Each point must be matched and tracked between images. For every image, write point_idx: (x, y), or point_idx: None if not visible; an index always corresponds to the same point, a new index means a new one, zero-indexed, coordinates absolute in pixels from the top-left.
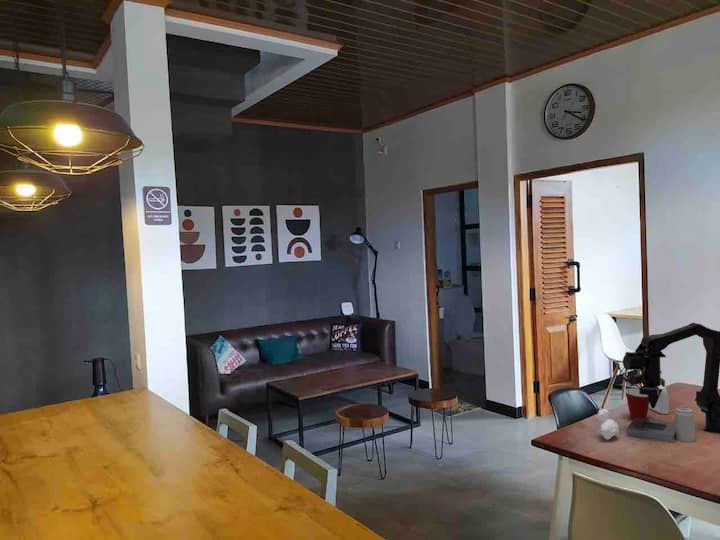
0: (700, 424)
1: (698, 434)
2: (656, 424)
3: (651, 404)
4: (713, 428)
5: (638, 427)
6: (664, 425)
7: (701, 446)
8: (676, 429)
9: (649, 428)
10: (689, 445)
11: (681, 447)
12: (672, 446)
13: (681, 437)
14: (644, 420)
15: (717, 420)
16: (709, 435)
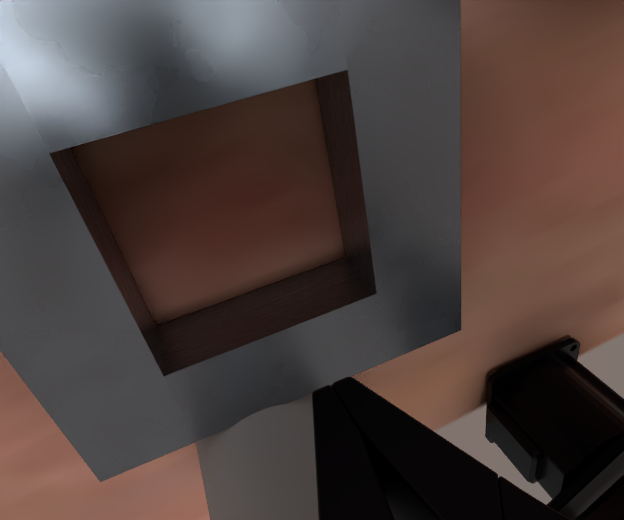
0: (607, 295)
1: (418, 385)
2: (359, 204)
3: (316, 469)
4: (496, 433)
5: (25, 150)
6: (369, 268)
7: (202, 508)
8: (222, 461)
9: (325, 120)
10: (159, 479)
11: (65, 486)
12: (21, 455)
13: (197, 451)
14: (386, 64)
15: (542, 485)
16: (432, 418)
